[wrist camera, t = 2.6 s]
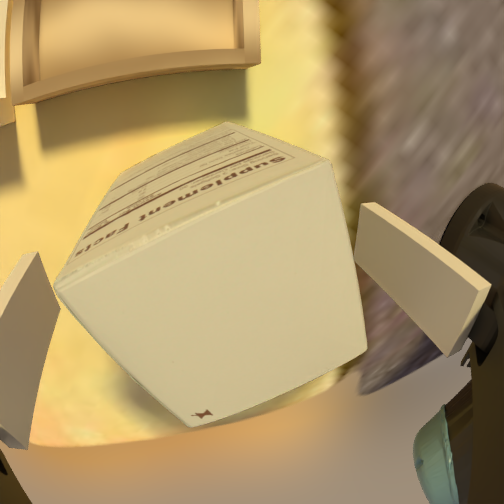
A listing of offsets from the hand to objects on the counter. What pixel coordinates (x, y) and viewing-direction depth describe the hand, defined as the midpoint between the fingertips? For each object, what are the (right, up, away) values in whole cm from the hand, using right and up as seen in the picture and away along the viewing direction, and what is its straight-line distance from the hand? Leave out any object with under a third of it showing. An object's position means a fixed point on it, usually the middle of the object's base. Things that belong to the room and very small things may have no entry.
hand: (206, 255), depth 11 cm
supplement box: (-2, +4, +7) cm, 9 cm away
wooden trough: (-5, +15, 0) cm, 16 cm away
